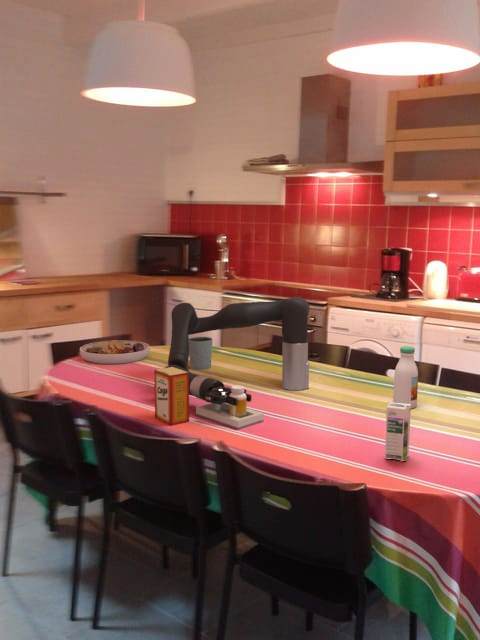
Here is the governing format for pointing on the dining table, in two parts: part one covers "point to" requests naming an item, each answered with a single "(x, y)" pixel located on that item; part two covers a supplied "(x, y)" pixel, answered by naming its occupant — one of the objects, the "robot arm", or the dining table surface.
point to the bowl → (114, 351)
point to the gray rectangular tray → (222, 415)
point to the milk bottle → (406, 378)
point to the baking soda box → (171, 395)
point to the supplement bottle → (238, 402)
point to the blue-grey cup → (200, 352)
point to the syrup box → (397, 431)
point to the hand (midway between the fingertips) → (243, 400)
